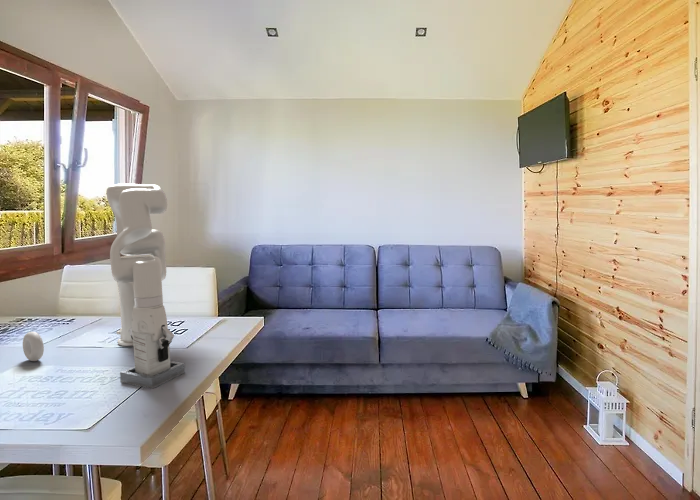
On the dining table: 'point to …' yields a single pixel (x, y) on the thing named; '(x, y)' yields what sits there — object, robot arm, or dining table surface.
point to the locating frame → (152, 381)
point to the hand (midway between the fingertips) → (152, 358)
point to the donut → (33, 346)
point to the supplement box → (148, 355)
